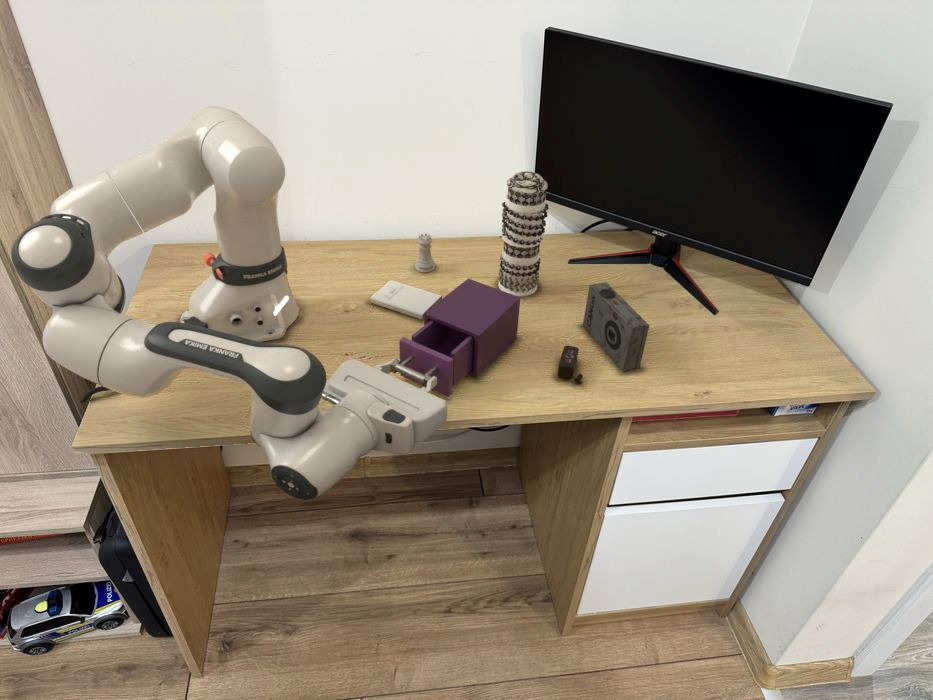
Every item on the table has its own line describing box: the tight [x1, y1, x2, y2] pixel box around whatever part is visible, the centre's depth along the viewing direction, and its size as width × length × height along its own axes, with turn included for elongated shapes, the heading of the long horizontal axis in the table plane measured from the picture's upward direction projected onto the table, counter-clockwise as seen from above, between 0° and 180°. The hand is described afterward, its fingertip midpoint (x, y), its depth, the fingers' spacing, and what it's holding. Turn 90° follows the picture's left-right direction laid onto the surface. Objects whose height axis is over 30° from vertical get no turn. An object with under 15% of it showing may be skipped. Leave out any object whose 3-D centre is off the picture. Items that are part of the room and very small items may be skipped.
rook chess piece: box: [414, 233, 436, 274], centre depth 153 cm, size 4×4×8 cm
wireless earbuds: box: [556, 344, 584, 386], centre depth 127 cm, size 5×7×3 cm, turn 164°
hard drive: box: [369, 279, 443, 321], centre depth 144 cm, size 2×8×12 cm
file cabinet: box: [423, 277, 521, 379], centre depth 130 cm, size 15×12×10 cm
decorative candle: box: [498, 171, 549, 298], centre depth 143 cm, size 9×9×25 cm
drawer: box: [395, 320, 475, 398], centre depth 123 cm, size 18×10×8 cm, turn 147°
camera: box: [582, 281, 650, 372], centre depth 132 cm, size 16×4×10 cm, turn 21°
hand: (415, 370), depth 117 cm, fingers closed on drawer, 6 cm apart
